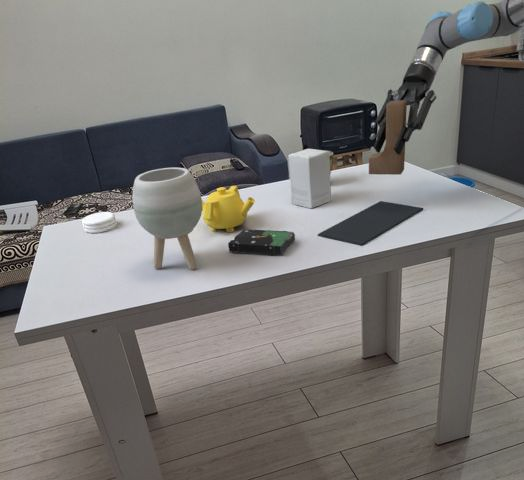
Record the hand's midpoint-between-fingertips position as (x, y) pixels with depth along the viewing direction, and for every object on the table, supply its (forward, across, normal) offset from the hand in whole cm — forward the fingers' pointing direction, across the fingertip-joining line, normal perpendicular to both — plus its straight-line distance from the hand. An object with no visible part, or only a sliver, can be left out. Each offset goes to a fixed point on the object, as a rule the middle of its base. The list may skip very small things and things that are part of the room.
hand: (386, 150), depth 142 cm
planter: (+51, +25, +26) cm, 62 cm away
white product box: (+13, +26, -11) cm, 31 cm away
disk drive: (+37, +14, +13) cm, 42 cm away
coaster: (+47, +70, +23) cm, 88 cm away
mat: (+17, 0, -7) cm, 19 cm away
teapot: (+33, +34, +8) cm, 49 cm away
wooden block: (+3, +2, -8) cm, 8 cm away
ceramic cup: (+2, +37, -23) cm, 43 cm away
